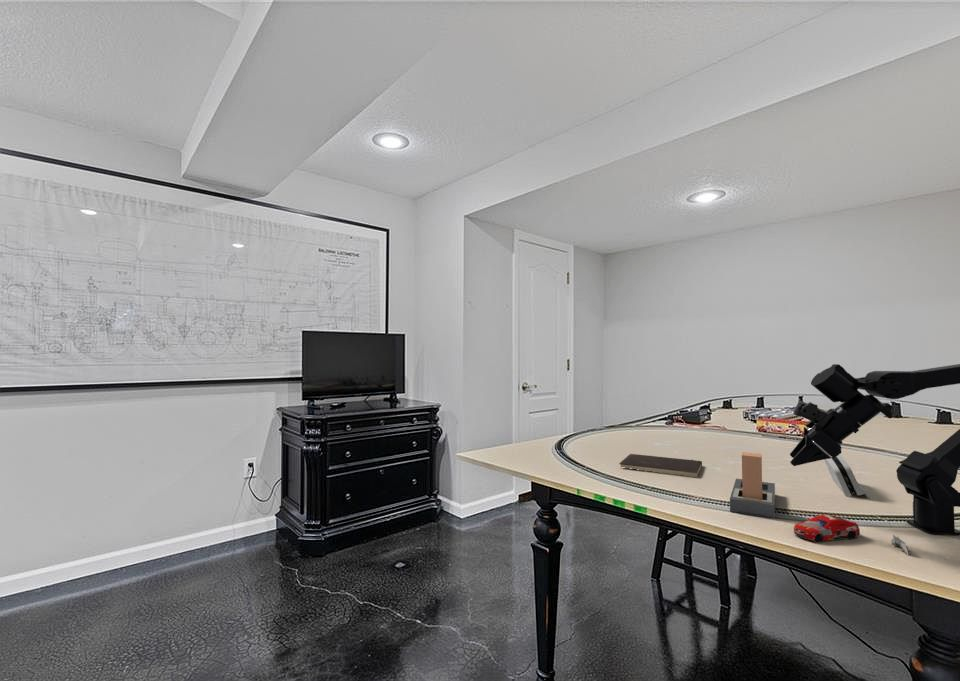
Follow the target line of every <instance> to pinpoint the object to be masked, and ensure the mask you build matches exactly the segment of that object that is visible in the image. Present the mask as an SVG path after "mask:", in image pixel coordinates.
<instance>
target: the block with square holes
mask: <svg viewBox="0 0 960 681" xmlns="http://www.w3.org/2000/svg"><path fill="white" fill-rule="evenodd" d="M775 485H776V483H774V482H768V481H767V482H766V481H762V500H760V499H753V498H746V497H743V493H742V478H735V481H734V484H733V487H732V491H731V494H730V497H729V512H732V513H737V514H738V513H739V514H744V515H749V516H750V515H751V516H757V517H763V518H770V519H776V518H775V516H776V515H775V514H776V513H775V512H776V486H775Z"/></svg>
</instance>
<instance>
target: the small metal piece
mask: <svg viewBox="0 0 960 681" xmlns="http://www.w3.org/2000/svg"><path fill="white" fill-rule="evenodd" d="M890 541H891V543H890V544H891V545H894V547H895V548H900V549H902V551H901V552H903V553H905V554H906V555H907V556H909V555H910V556H911V555H912V553H911V551H909V547H908V545H907V543H906V542H905V541H903V540H902V539H900V537H899V536H896V535H894V534H893V535H892V539H891V540H890Z"/></svg>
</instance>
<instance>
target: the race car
mask: <svg viewBox="0 0 960 681" xmlns="http://www.w3.org/2000/svg"><path fill="white" fill-rule="evenodd" d="M806 519H807V520H806V521H805V520H804V521H803V522H802V521H801V522H798V523H796V524H794V526H793V533H794V535H796V536H798V537H800V538H802V539H805V540H809V541H813V542H815V543H822V542H826V541H827V542H828V541H835V540H836V541H837V540H846V539H848V540H854V539H855V538H858V537H860V535H861V532H860V531H861V530H860V527H859V524H858V523H857V522H855V521H854V520H853V521H852V520H850V519H847V518H844V517H840V516H839V517H838V516H836V515H833V514H832V515H830V514H821V515H817V516H814V517H811V518H810V517H807V518H806Z"/></svg>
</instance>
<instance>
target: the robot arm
mask: <svg viewBox="0 0 960 681" xmlns="http://www.w3.org/2000/svg"><path fill="white" fill-rule="evenodd" d="M810 384H811V386H813V387H814V388H815V390H817V391H818V392H820V393H821V394H822V395H823V396H824V397H826V398H827V399H829V400H830V401H831V402H832V403H838V402H839V403H841V404H839V405H838V406H836V407H835V408H830V409H828V410H827V411H826V410H825V409H821V408H819V406H818V404H815V403H813V402H810V401H809V402H804V400H803V401H802V400H798V402H797V404H796V406H795V408H794V409H793V411H792V412H793V413H792V414H793V415H795V416H797V417H799V418H804V419H806V420H808V421H807V422H806V423H805V424H804V426H803V437H801V439H800V440H799V442H798V443H797V445H796V446H795V447H793V450H791V452H790V454H789V455H790V457H791V458H792V459H791V460H790V462H789V463H790V464H791V466H793V467H796V466H801V465H805V464H810V463H815V462H818V461H823V460H824V459H831V457H833V458H835V457H836V456H838V455H841V454H842V446H841V445H842V444H843V441H844V440H845V439H847V438H848V437H849V436H851V435H852V434H853V433H854V434H857V433H858V432H859V431H860V430H859V429H860V428H861V427H863V426H864V425H865V424H866V423H868V422H869V421H871V420H873V418H875V417H876V416H877V415H879V414H880V413H881V414H882V415H884V416H885V417H886V418H888V419H892V418H893V405H891V404H890V402H889V403H888V402H881V401H880V400H879V399H878V398H883V399H890V400H899V399H903V398H906V397H909V396H913V395H915V394H917V393H918V392H921V391H923V390H926V389H932V388H939V387H947V386H952V385H959V384H960V363H958V364H951V365H944V366H937V367H931V368H930V367H929V368H925V369H924V368H923V369H918V370H909V371H908V370H903V371H902V370H901V371H900V370H874V371H869V372H868V373H866V375H865V376H863V377H854V376H853V375H852V374H850V373H849V372H848V371H847V370H846V369H845V368H844V367H843V366H842V365H840V364H838V363H835V364H831V366H830V367H827V368H826V369H824V370H822V371H820V372H818V373H817V374H815V375H814V377H813V378H812V379H811V381H810ZM859 390H861V391H863V390H864V391H865V392H866V393H867V394H863V393H861V392H860V391H859ZM877 397H878V398H877ZM824 461H825V460H824ZM898 463H899V464H900V465H899V466H898V467H897V469H896V478H897V480H898V482H899V483H900V484H901V485H902V486H903V487H904V489H905V491H906V493H907V494H909V495H912V496H913V500H912V519H906V520H905V521H906V522H907V524H908V523H909V524H908V525H910V524H911V525H910V526H913V527H915V528H917V529H919V530H921V531H922V532H923V531H924V532H926V533H927V534H931V535H933V534H934V535H957V536H958V535H959V536H960V530H959V529H957V528H955V527H956V526H955V507H957V508H959V507H960V492H959V490H957V489H956V488H955V487H953V485H954V483H955V482H956V480H957V476H958V471H959V469H960V428H959V429H958V430H956V431H955V432H954V433H953V434H952V435H950V436H949V437H948V438H946V440H944V441H943V442H942V443H941V444H939V445H938V446H937V447H936V448H934V449H933V450H932V451H930V452H927V453H925V452H921V451H917V450H914V451H912V452H910V453H909V455H908V456H907V457H906V458H905V459H903V460H900V461H898ZM906 522H905V523H906Z"/></svg>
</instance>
